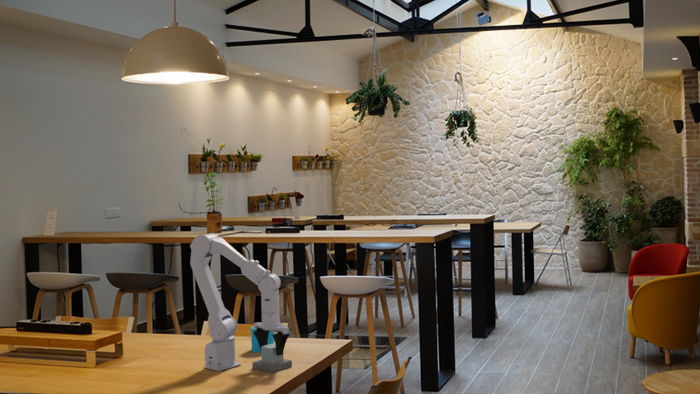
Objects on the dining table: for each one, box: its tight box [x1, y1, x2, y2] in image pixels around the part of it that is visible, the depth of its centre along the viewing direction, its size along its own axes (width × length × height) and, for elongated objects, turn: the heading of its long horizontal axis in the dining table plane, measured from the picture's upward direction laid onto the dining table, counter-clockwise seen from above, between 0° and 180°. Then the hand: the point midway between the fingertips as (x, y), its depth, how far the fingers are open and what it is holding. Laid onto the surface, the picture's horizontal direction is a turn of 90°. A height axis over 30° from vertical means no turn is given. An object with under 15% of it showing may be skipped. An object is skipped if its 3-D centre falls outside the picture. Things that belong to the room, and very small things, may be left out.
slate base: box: [251, 358, 293, 374], centre depth 216 cm, size 9×9×2 cm
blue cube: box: [260, 343, 285, 364], centre depth 216 cm, size 5×5×5 cm
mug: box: [250, 325, 275, 353], centre depth 243 cm, size 12×8×8 cm
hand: (271, 353), depth 216 cm, fingers open, 7 cm apart
